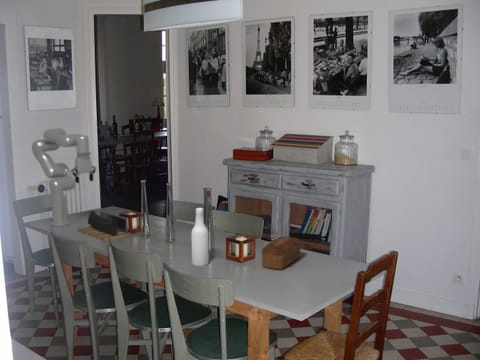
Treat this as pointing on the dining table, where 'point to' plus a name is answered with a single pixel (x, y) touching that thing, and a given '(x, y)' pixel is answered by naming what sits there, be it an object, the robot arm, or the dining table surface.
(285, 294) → the dining table surface
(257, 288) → the dining table surface
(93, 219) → the magazine
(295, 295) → the dining table surface
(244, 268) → the dining table surface
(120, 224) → the shelf wall
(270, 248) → the bread
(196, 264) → the alcohol
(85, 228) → the shelf board
